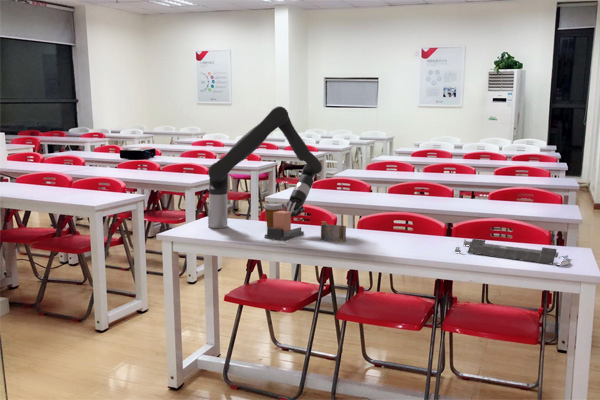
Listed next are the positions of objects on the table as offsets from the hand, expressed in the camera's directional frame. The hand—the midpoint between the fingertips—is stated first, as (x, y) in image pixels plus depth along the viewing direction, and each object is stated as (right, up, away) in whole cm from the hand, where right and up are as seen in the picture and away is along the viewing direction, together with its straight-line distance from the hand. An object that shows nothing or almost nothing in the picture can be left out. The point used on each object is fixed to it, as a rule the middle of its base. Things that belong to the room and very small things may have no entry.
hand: (286, 221), depth 278 cm
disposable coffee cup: (-7, -4, +22) cm, 23 cm away
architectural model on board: (+22, -9, -8) cm, 25 cm away
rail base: (-1, -7, 0) cm, 7 cm away
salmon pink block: (-2, -5, -2) cm, 6 cm away
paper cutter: (+96, -14, -33) cm, 103 cm away
